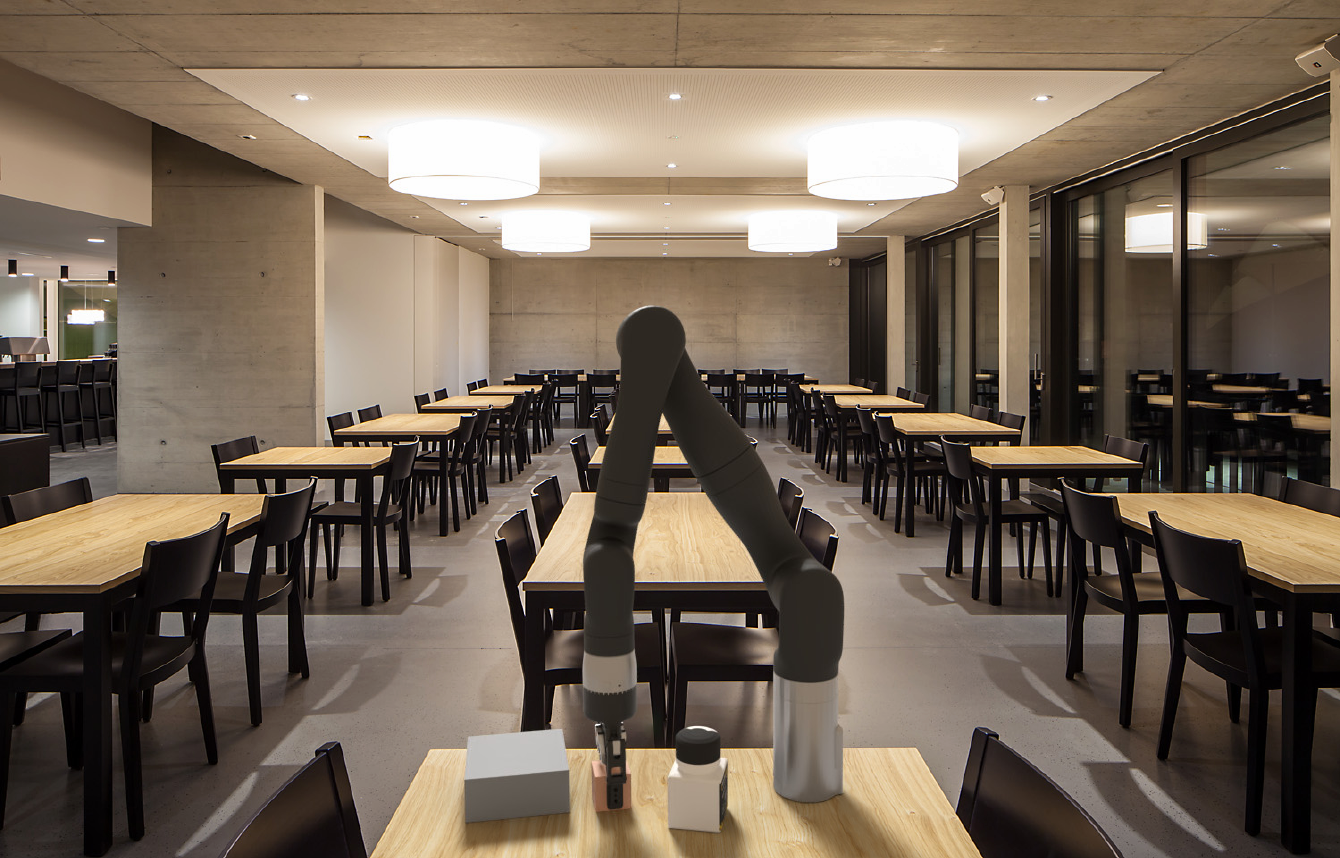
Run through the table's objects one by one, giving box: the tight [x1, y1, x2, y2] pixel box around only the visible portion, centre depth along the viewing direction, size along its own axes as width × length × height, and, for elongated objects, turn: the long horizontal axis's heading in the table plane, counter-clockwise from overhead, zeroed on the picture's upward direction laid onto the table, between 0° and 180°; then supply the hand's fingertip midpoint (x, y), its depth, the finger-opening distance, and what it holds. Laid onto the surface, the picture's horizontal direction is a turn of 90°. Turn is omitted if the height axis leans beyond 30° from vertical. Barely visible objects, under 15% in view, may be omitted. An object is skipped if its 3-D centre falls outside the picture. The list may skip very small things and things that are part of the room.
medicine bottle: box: [667, 725, 729, 834], centre depth 118 cm, size 7×7×12 cm
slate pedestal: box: [463, 728, 571, 824], centre depth 125 cm, size 14×14×6 cm
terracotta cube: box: [590, 758, 633, 813], centre depth 123 cm, size 5×5×5 cm
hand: (611, 793), depth 123 cm, fingers open, 8 cm apart
